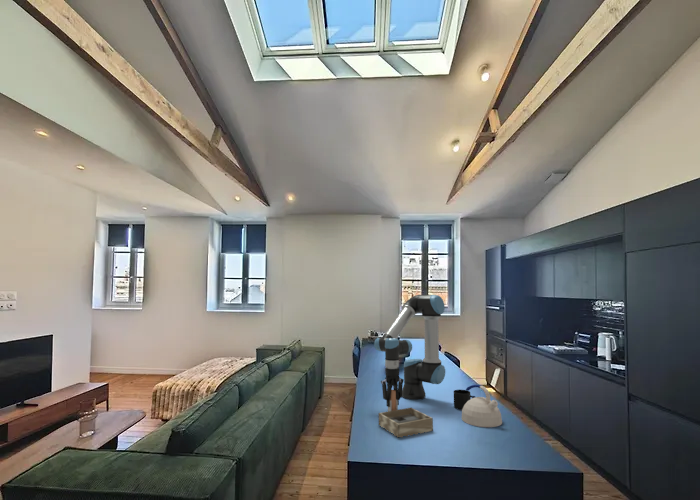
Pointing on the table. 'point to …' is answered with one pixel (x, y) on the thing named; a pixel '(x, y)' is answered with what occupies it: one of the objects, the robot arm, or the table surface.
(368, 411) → the table surface
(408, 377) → the robot arm
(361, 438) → the table surface
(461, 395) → the mug
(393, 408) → the peg
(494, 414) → the kettle
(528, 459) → the table surface
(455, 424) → the table surface
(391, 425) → the box
